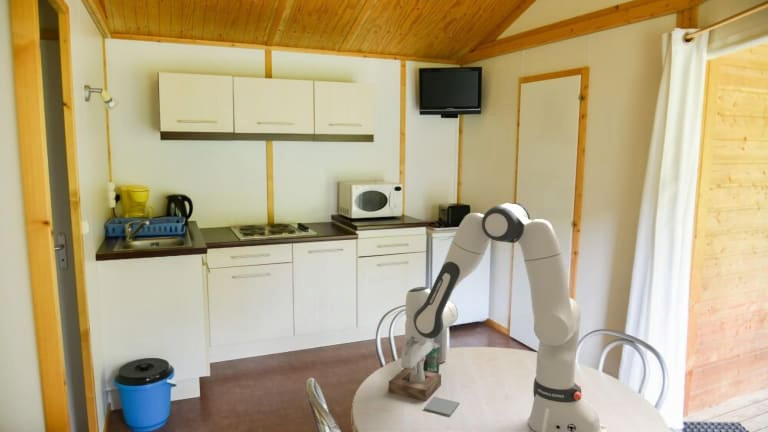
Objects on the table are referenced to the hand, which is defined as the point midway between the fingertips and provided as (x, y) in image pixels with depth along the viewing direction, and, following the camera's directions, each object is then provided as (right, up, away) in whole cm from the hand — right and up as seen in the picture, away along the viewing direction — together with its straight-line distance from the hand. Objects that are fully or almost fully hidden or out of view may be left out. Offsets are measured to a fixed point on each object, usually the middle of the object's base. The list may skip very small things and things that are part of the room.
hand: (417, 371), depth 177 cm
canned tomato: (+5, -5, +15) cm, 17 cm away
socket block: (-1, -7, +1) cm, 7 cm away
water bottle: (+10, -4, +27) cm, 29 cm away
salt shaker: (0, -6, +1) cm, 6 cm away
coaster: (+7, -8, -12) cm, 16 cm away
